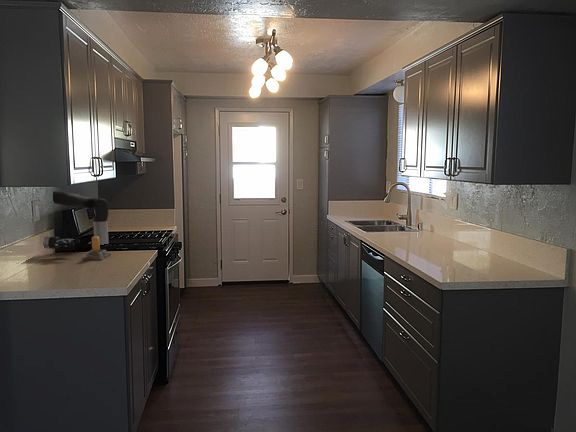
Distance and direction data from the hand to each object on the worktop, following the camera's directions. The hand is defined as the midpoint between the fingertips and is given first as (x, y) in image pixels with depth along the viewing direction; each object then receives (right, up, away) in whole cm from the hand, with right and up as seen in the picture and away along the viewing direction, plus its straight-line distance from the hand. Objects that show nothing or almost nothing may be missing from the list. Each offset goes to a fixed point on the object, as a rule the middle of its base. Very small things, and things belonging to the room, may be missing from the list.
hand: (76, 242), depth 294 cm
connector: (+12, -8, +1) cm, 15 cm away
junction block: (+12, -9, +1) cm, 15 cm away
